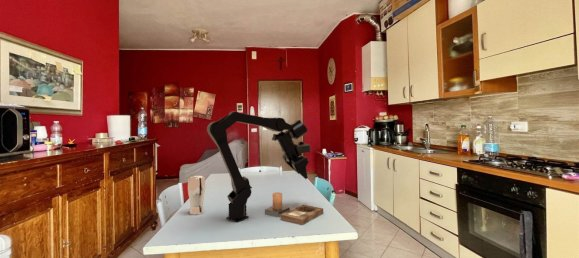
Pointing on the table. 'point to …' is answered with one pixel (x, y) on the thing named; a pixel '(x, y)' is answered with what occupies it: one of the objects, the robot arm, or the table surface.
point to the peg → (277, 201)
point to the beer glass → (196, 194)
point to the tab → (276, 211)
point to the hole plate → (301, 214)
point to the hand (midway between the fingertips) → (302, 175)
